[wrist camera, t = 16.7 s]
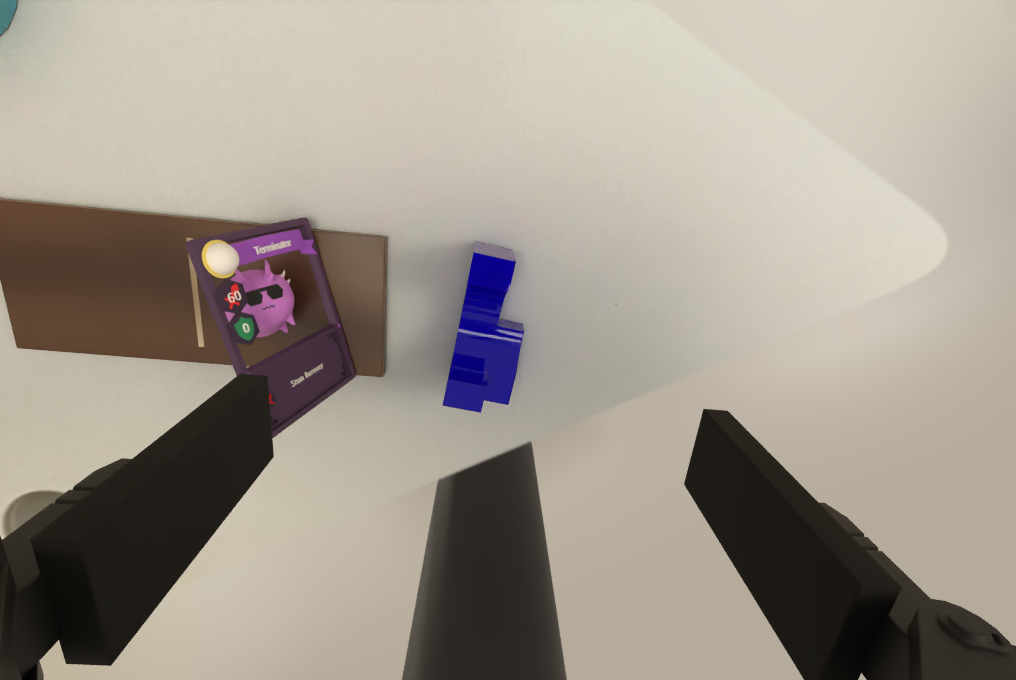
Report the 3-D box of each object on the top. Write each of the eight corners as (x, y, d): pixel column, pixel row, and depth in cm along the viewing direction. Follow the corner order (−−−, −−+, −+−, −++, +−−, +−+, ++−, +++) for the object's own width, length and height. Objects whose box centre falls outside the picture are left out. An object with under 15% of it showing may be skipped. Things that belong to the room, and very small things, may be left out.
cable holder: (507, 385, 28) (509, 418, 25) (449, 374, 28) (442, 405, 24) (539, 255, 26) (547, 268, 22) (476, 241, 26) (473, 252, 22)
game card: (282, 440, 21) (203, 237, 18) (197, 439, 23) (114, 254, 20) (367, 375, 27) (319, 214, 24) (295, 378, 29) (242, 228, 26)
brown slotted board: (384, 373, 28) (382, 377, 27) (26, 344, 27) (15, 348, 26) (387, 236, 25) (385, 237, 25) (-9, 197, 24) (-22, 198, 24)
